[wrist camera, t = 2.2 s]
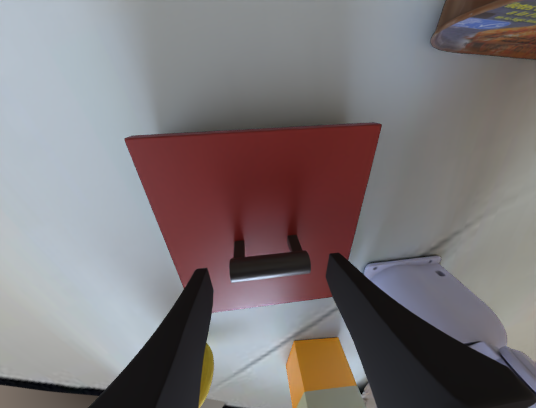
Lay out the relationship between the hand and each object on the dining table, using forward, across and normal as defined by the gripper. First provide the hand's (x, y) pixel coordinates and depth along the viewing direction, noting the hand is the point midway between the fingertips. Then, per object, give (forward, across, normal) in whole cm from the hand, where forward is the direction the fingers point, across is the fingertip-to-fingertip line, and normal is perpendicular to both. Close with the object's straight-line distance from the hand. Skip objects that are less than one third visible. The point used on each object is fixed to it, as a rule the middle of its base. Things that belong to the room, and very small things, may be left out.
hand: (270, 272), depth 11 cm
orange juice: (+7, -7, +30) cm, 31 cm away
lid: (+4, 0, 0) cm, 4 cm away
